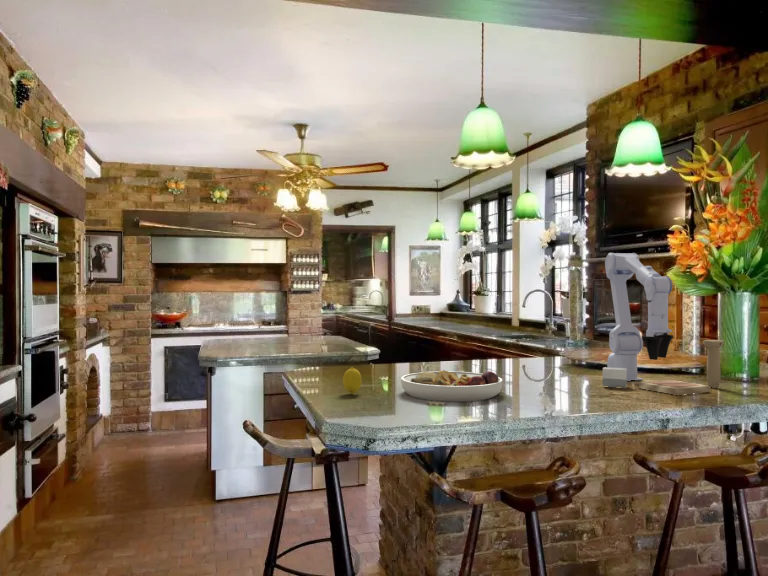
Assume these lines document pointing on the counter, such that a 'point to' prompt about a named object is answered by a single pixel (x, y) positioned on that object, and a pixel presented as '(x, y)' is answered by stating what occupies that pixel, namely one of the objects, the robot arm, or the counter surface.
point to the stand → (674, 387)
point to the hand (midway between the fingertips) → (657, 358)
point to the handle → (713, 362)
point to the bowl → (452, 385)
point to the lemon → (352, 380)
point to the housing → (615, 377)
